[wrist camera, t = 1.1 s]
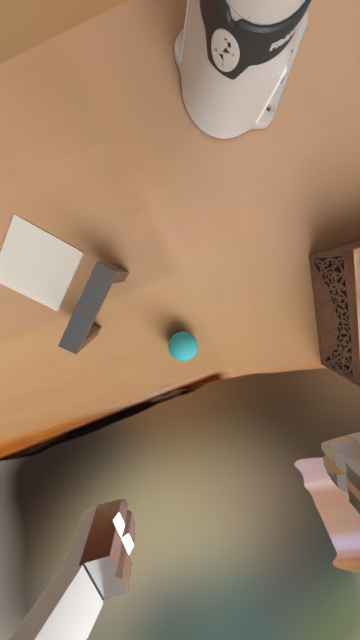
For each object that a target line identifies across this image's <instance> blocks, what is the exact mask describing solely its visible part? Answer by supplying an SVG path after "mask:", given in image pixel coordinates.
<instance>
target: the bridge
mask: <svg viewBox="0 0 360 640" xmlns="http://www.w3.org/2000/svg"><path fill="white" fill-rule="evenodd" d="M128 273H129V272H128V271H126V270H124V269H122V268H121V267H119V266H117V265H115V264H109V263H103V262H97V263H96V265H95V267H94V269H93V271H92V274H91V276H90V278H89V280H88V282H87V284H86V287H85V289H84V291H83V293H82V295H81V297H80V300H79V302H78V304H77V306H76V308H75V310H74V313H73V315H72V317H71V319H70V321H69V323H68V326H67V328H66V330H65V332H64V334H63V337H62V339H61V341H60V343H59V345H58V346H59V347H61V348H64V349H66V350H68V351H70V352H72V353H75V354H77V353H78V352H79V351H80V350H81V349H82V348H84V347H85V346H86V345H87V344H88V343H89V342H90V341H91V340H93V339H94V338H95V337H96V336H97V335H98V333H99V331H100V329H101V327H100V326H98V325H96V324H94V323H93V322H94V320H95V318H96V316H97V314H98V312H99V310H100V308H101V306H102V304H103V302H104V300H105V298H106V296H107V294H108V292H109V289H110V287H111V285H112V283H117V282H123V281H125V279H126V277H127V275H128Z"/></svg>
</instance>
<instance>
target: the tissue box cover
mask: <svg viewBox="0 0 360 640" xmlns="http://www.w3.org/2000/svg"><path fill="white" fill-rule="evenodd" d="M309 261H310V269H311V278H312V287H313V295H314V304H315V313H316V321H317V330H318V339H319V348H320V356H321V364H322V365H324V366H326V367H327V368H329V369H331V370H332V371H334V372H336V373H338V374H339V375H341V376H343V377H344V378H346V379H347V380H349V381H351V382H353V383H354V384H356V385H357V386H359V387H360V240H357V241H354V242H351V243H347V244H344V245H341V246H337V247H334V248H331V249H328V250H324V251H321V252H318V253H315V254H311V255H309Z"/></svg>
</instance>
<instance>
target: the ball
mask: <svg viewBox="0 0 360 640" xmlns="http://www.w3.org/2000/svg"><path fill="white" fill-rule="evenodd" d="M168 348H169V352H170V354H171V355H172V356H173V357H174V358H175V359H177V360H179V361H187V360H189V359H191V358H192V357H194V355H195V354H196V352H197V348H198V344H197V340H196V339H195V337H194V336H193V335H192V334H190V333H188V332H185V331H182V332H177V333H175V334H174V335H173V336H172V337H171V339H170V340H169V344H168Z"/></svg>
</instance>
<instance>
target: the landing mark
mask: <svg viewBox="0 0 360 640" xmlns="http://www.w3.org/2000/svg"><path fill="white" fill-rule="evenodd" d="M82 256H83V252H81V251H80V250H78V249H76V248H74V247H72V246H71V245H69V244H67V243H65V242H63V241H62V240H60V239H58V238H56V237H54V236H53V235H51V234H49V233H47V232H45V231H44V230H42V229H40V228H38V227H36V226H35V225H33V224H31V223H29V222H27V221H26V220H24V219H22V218H20V217H18V216H17V215H15V214H14V216H13V218H12V221H11V224H10V227H9V230H8V232H7V235H6V238H5V241H4V244H3V246H2V249H1V252H0V283H1V284H3V285H5V286H7V287H9V288H11V289H13V290H15V291H17V292H19V293H21V294H23V295H25V296H27V297H29V298H31V299H33V300H35V301H37V302H39V303H42V304H44V305H46V306H48V307H50V308H52V309H54V310H56V311H58V310H59V307H60V305H61V303H62V301H63V298H64V296H65V294H66V292H67V289H68V287H69V285H70V283H71V280H72V278H73V276H74V274H75V271H76V269H77V267H78V265H79V262H80V260H81V258H82Z"/></svg>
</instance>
